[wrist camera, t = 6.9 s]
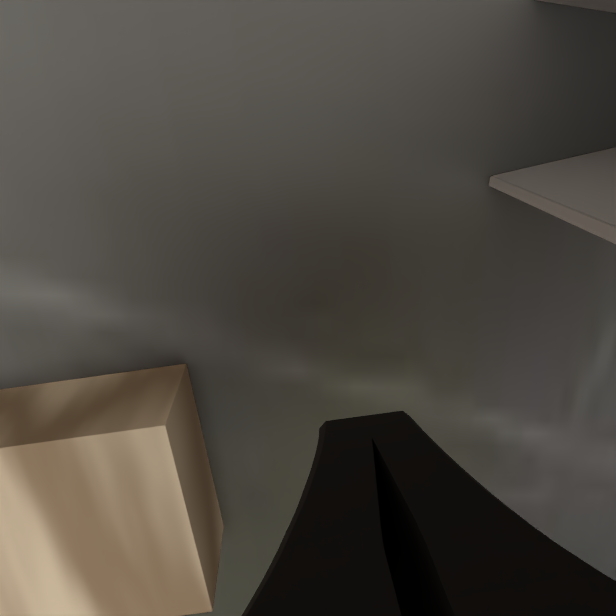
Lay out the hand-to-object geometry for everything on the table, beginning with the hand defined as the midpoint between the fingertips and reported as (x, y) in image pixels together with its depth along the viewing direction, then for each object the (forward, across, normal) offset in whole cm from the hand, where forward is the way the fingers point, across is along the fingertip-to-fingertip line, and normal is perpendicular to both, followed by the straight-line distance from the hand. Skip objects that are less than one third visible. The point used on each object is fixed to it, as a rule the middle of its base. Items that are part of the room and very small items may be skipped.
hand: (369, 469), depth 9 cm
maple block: (+8, +5, +6) cm, 12 cm away
